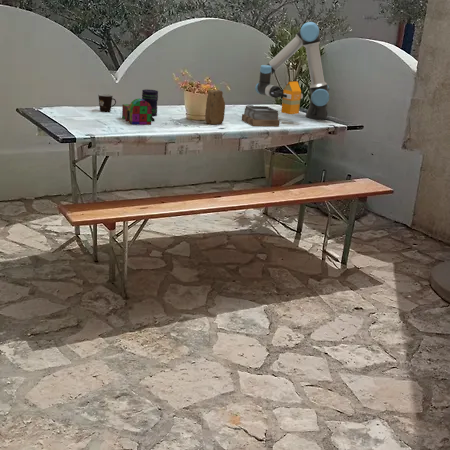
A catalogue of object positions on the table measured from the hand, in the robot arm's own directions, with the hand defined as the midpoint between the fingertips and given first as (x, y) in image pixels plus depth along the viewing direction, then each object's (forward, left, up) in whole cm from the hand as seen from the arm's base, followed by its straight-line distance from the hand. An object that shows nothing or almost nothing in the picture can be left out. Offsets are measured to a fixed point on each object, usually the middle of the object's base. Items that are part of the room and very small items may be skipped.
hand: (296, 96), depth 380 cm
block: (0, -55, -18) cm, 58 cm away
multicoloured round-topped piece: (-7, -100, -18) cm, 102 cm away
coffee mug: (-31, -115, -18) cm, 120 cm away
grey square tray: (-2, -23, -18) cm, 29 cm away
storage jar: (-23, -89, -18) cm, 94 cm away
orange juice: (-4, -1, -11) cm, 12 cm away
